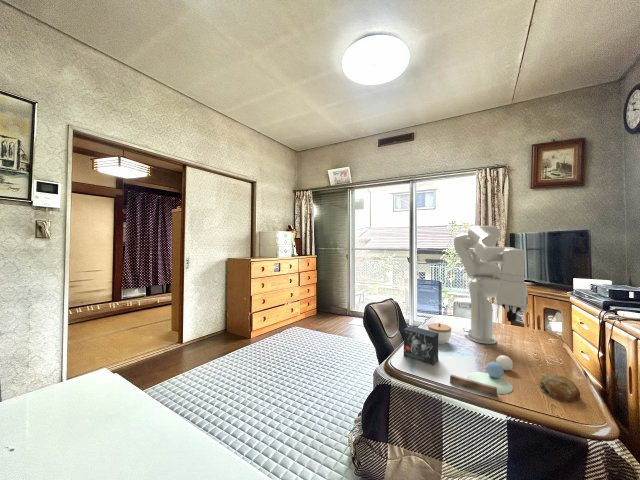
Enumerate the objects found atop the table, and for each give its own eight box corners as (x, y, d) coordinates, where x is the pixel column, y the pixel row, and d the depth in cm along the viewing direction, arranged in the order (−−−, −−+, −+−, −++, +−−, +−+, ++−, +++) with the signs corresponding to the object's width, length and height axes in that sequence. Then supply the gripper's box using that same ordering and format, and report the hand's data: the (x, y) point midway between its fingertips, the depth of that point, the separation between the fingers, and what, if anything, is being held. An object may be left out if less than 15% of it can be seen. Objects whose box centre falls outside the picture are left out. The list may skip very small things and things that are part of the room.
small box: (402, 355, 116) (403, 329, 116) (409, 351, 121) (409, 325, 121) (432, 365, 107) (433, 336, 107) (439, 360, 112) (439, 332, 112)
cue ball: (499, 352, 108) (497, 366, 107) (495, 353, 105) (493, 367, 104) (515, 357, 104) (514, 372, 103) (511, 358, 100) (510, 373, 100)
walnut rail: (450, 382, 94) (450, 375, 94) (450, 381, 95) (450, 374, 95) (496, 396, 86) (496, 389, 86) (496, 394, 87) (496, 387, 87)
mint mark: (459, 380, 96) (459, 380, 96) (475, 368, 104) (475, 368, 104) (504, 399, 85) (504, 398, 85) (518, 384, 93) (518, 383, 93)
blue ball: (489, 372, 102) (483, 376, 98) (489, 358, 102) (483, 361, 98) (505, 378, 97) (500, 382, 94) (506, 363, 98) (500, 367, 94)
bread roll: (537, 396, 92) (528, 376, 92) (561, 382, 93) (552, 363, 93) (565, 415, 83) (556, 393, 82) (592, 399, 83) (582, 377, 83)
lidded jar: (450, 339, 135) (450, 321, 135) (451, 347, 125) (451, 328, 125) (428, 336, 139) (428, 318, 139) (427, 343, 129) (427, 324, 129)
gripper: (489, 276, 113) (487, 318, 114) (532, 282, 101) (530, 328, 102) (496, 274, 117) (494, 314, 118) (538, 279, 105) (536, 324, 106)
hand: (511, 321), depth 110 cm, fingers closed
